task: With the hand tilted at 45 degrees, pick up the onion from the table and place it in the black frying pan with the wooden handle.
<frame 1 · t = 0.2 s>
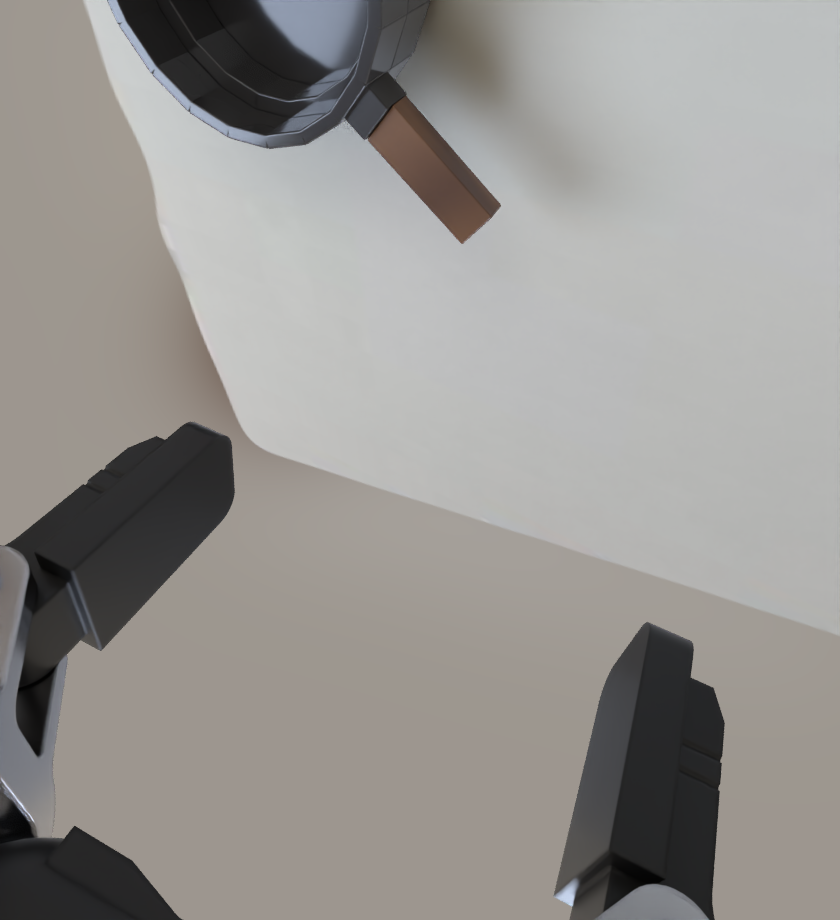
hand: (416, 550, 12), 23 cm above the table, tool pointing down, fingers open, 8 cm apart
pan handle: (425, 161, 27), point 3 cm above the table
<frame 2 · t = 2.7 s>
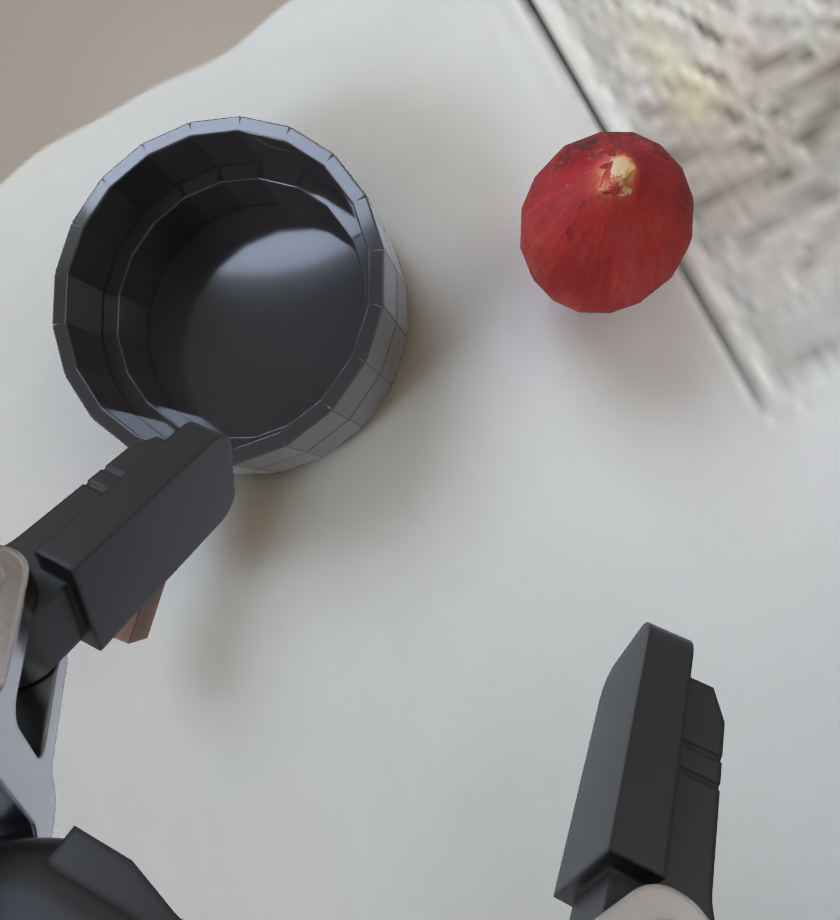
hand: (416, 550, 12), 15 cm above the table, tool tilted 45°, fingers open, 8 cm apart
onion: (593, 268, 26), on the table
pan handle: (144, 545, 25), point 3 cm above the table
pan: (263, 325, 29), on the table
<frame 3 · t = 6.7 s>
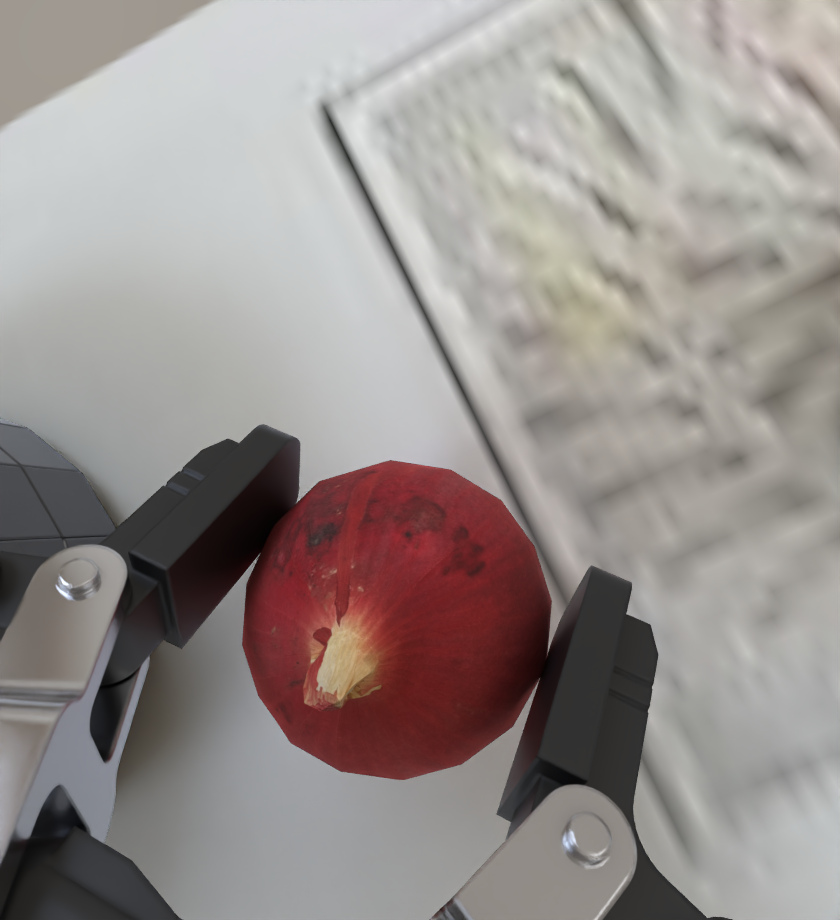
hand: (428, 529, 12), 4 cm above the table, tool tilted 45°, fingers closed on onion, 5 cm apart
onion: (430, 589, 16), on the table, touching gripper
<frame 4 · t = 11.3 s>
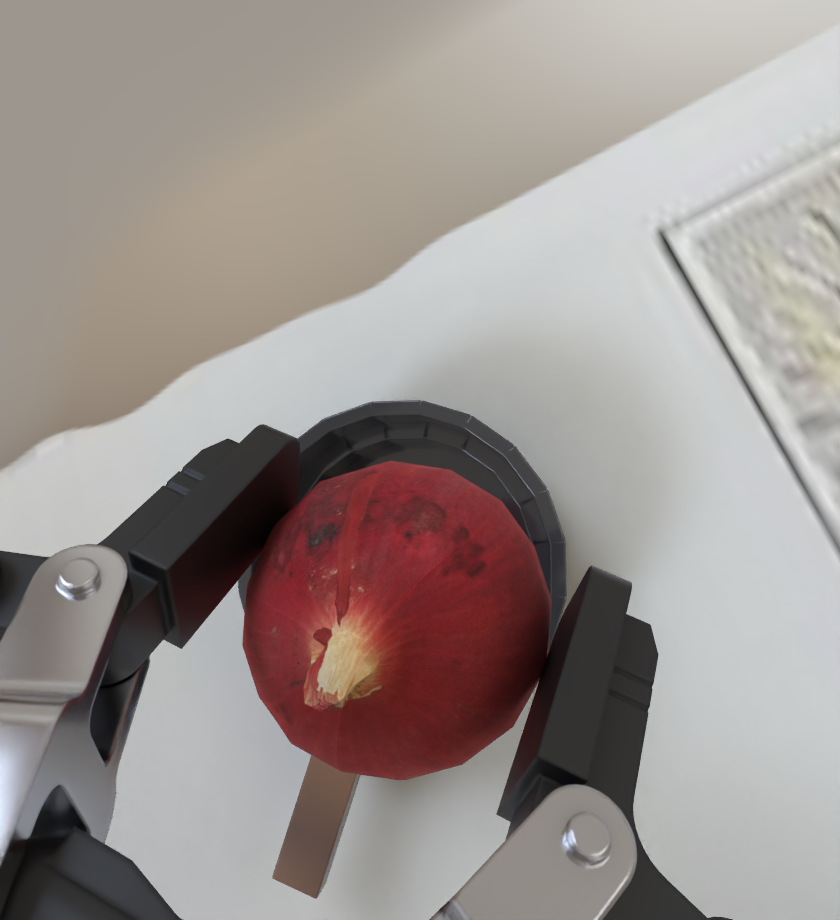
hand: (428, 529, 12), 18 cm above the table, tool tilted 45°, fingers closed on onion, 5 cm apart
onion: (430, 589, 16), point 13 cm above the table, touching gripper
pan handle: (325, 797, 26), point 3 cm above the table
pan: (416, 558, 30), on the table
when the fingers open (5 cm above the table, at t = 15.8 s): onion stays where it is, resting on pan.
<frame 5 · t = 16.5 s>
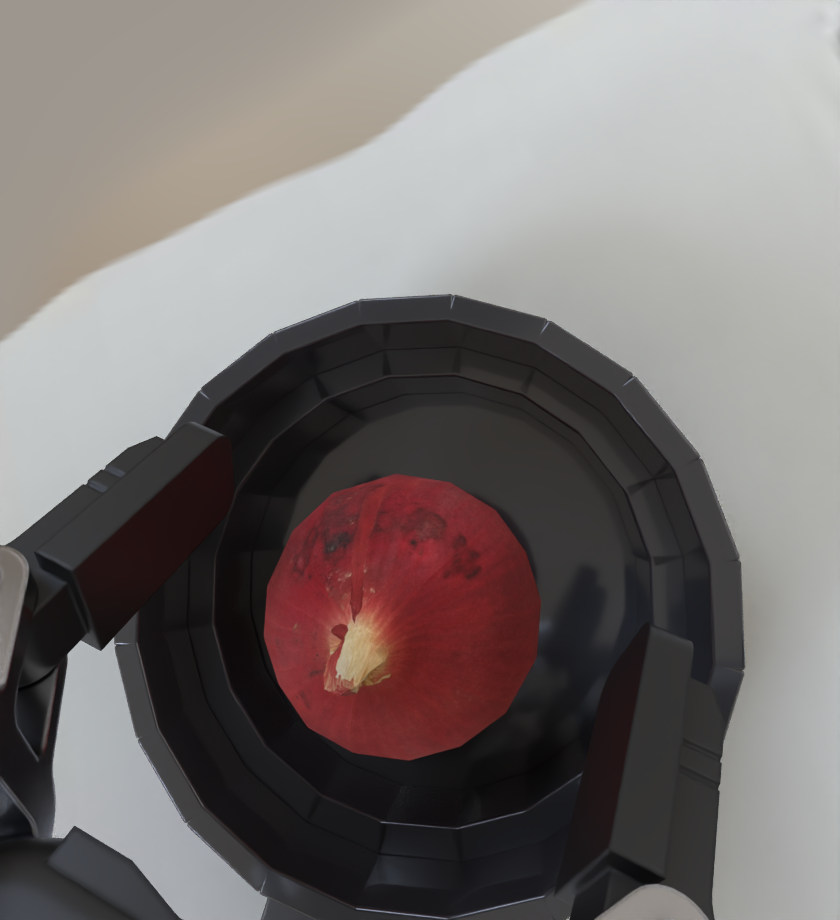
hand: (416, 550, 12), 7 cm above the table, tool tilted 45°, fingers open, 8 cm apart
onion: (431, 590, 18), resting on pan
pan: (436, 583, 18), on the table
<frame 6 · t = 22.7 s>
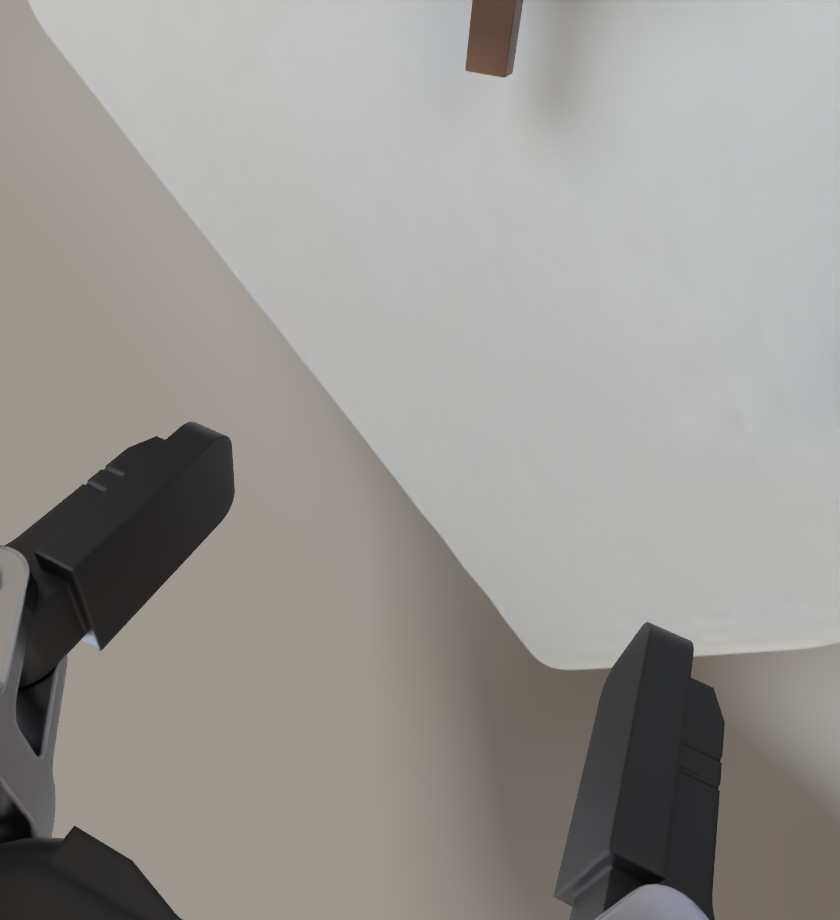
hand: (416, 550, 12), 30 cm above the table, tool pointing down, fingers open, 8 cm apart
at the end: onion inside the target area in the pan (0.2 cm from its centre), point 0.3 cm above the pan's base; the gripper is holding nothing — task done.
